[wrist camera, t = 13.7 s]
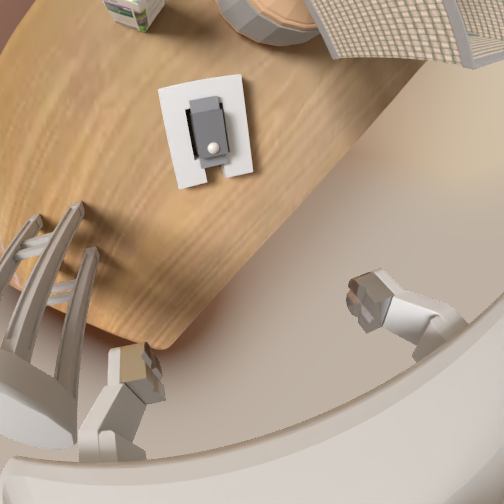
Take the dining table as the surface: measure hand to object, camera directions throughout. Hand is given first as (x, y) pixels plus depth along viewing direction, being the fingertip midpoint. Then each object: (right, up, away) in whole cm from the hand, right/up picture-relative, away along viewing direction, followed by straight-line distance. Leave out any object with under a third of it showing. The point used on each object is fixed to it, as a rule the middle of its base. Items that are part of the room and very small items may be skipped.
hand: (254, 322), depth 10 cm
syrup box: (-17, +38, +15) cm, 44 cm away
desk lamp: (+3, +43, +19) cm, 47 cm away
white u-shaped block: (-7, +22, +29) cm, 37 cm away
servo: (-7, +22, +29) cm, 37 cm away
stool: (-34, +5, +31) cm, 46 cm away
